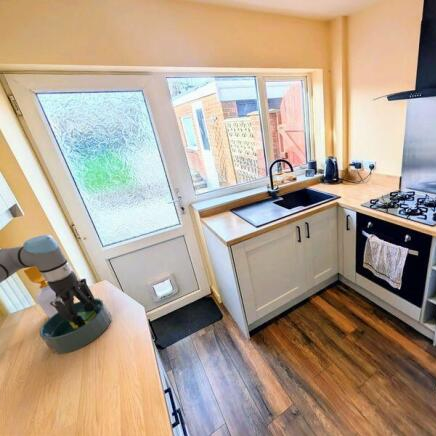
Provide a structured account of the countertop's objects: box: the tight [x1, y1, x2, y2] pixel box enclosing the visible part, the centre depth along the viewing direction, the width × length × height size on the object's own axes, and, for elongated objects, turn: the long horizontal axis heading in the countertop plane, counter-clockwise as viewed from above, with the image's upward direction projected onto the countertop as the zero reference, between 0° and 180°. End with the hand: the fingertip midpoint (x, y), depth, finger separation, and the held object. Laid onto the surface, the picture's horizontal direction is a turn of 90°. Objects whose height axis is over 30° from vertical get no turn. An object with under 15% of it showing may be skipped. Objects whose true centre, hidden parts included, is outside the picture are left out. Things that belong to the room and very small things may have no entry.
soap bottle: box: [23, 266, 65, 319], centre depth 104 cm, size 9×9×25 cm
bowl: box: [39, 297, 112, 354], centre depth 95 cm, size 19×19×8 cm
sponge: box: [69, 311, 97, 329], centre depth 97 cm, size 7×4×4 cm, turn 90°
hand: (88, 323), depth 98 cm, fingers closed on sponge, 4 cm apart
